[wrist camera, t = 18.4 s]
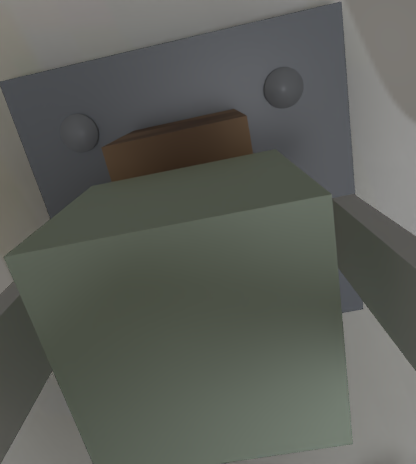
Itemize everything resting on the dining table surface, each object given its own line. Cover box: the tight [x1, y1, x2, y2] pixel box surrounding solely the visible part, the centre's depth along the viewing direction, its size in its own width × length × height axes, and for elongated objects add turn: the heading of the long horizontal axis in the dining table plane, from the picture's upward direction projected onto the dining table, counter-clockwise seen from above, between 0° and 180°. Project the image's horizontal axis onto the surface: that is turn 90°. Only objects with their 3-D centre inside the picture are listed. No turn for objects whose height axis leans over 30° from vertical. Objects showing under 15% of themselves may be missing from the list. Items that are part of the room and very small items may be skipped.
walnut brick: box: [101, 109, 253, 182], centre depth 17 cm, size 5×9×6 cm, turn 12°
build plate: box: [0, 2, 363, 313], centre depth 20 cm, size 16×16×2 cm
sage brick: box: [4, 149, 353, 464], centre depth 11 cm, size 6×6×6 cm
